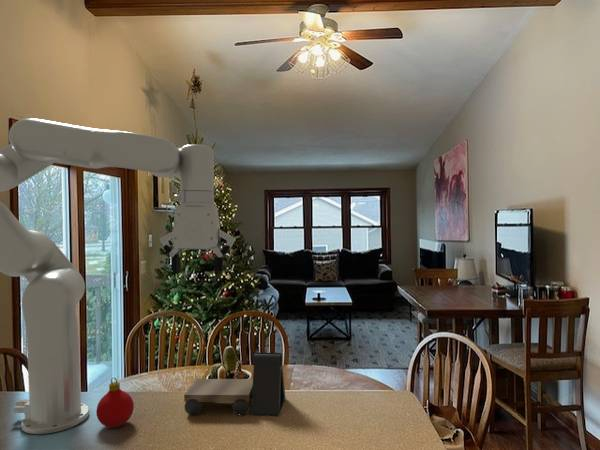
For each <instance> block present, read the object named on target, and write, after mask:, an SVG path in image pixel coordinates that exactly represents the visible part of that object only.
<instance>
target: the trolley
mask: <svg viewBox="0 0 600 450" xmlns="http://www.w3.org/2000/svg"><path fill="white" fill-rule="evenodd" d="M252 389H253V378H196V379H195V380H194V381H193V383H192V385H191V386H190V387H189V388H188V389H187V390H186V392H184V393H185V394H184V396H183V400H184V403H185V404H184V410H185V412H186V413H187V415H190V416H197V415H198V414H199V413H201V411H202V409H203V406H204V403H209V402H210V403H232V406H231V407H232V411H233V413H234V414H236V415H237V416H240V415H242V416H245V415H246V414H247V413H248V412H249V411H250V407H251V401H252ZM239 414H240V415H239Z"/></svg>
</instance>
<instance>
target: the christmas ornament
mask: <svg viewBox="0 0 600 450" xmlns="http://www.w3.org/2000/svg"><path fill="white" fill-rule="evenodd" d="M113 379H114V380H115V381H114V382H113ZM108 388H109V389H108V392H107V393H105V394H104V395H103V396H102V397H101V398H100V400H99V401H98V404H97V406H96V412H95V413H96V417H97V420H98V422H100V424H102V425H103V426H105V427H107V428H118V427H121V426H123V425H124V424H126V423H127V422H128V421H129V420H130V419H131V417H132V415H133V412H134V407H135V404H134V400H133V397H132V396H131V395H130V394H129V393H128V392H126V391H124V390H122V389H120V382H118V380H117V378H116V377H111V379H110V383H109V384H108Z"/></svg>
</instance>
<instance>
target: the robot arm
mask: <svg viewBox="0 0 600 450" xmlns="http://www.w3.org/2000/svg"><path fill="white" fill-rule="evenodd" d="M8 141H9V144H7V145H5V146H4V147H2V148H0V193H4V192H6V191H9V190H12V189H14V188H15V187H18V186H20V185H21V184H23V183H24V182H26V181H28V180H29V179H31V178H32V177H34V176H36V175H37V174H39V173H41V172H43V171H44V170H46V169H47V168H49V167H50V166H52V165H53V164H60V165H68V166H74V167H80V168H87V169H95V170H97V169H102V168H120V169H129V170H136V171H141V172H148V173H150V174H151V175H153V176H155V177H158V178H161V179H164V178H175V177H179V178H180V179H179V182H180V183H179V186H180V187H179V191H178V192H179V193H177V194H174V195H173V198H174V201H178V202H179V205H176V207H175V211H174V218H173V227H172V231H170V232H168V233H166V234H164V235H162V236H161V237H160V238H159V241H160V244H161V246H162V247H163V250H164V251H165V252H166V253H167V254H168V255H169V257H170V258H171V262H170V263H171V264H170V265H171V267H170V269H171V271H172V275H173V276H174V275H175V276H176V275H178V274H180V273H182V269H181V268H182V265H181V264H182V263H181V262H182V261H181V260H182V259H181V257H182V256H180V253H181V252H182V251H183V250H212V251H213V253H214V254H215V255H216V256H215V257H214V275H215V276H219V275H221V274H222V272H223V271H224V257H225V256H226V254H228V252H229V251H231V249H232V246H234V243H235V241H236V238H235V237H234V236H233V235H230V234H228V233H226V232H225V231H222V230H221V225H220V224H221V223H220V217H219V211H218V206H217V205H214V204H215V176H214V175H215V172H214V171H215V167H214V165H215V164H214V163H215V160H214V159H215V154H214V153H215V152H214V149H213V148H212V147H211V146H209V145H206V144H197V143H195V144H186V145H183V146H182V147H177V146H176V145H175V143H173V142H172V141H170V140H168V139H167V138H162V137H159V136H155V135H154V136H153V135H148V134H147V135H146V134H143V133H137V132H136V133H135V132H131V131H129V132H128V131H121V130H110V129H103V128H102V129H100V128H93V127H87V126H81V125H74V124H69V123H62V122H57V121H52V120H46V119H39V118H30V117H29V118H23V119H19V120H17V121H15V122H14V123H13V124H12V125H11V127H10V129H9V131H8ZM221 238H222V239H224V240H225V241H226V243H225V245H224V247H223V248H222V247H221V246H220V245H221ZM171 239H172V245H170V242H169V241H170V240H171ZM0 272H1V274H3V275H6V276H8V277H15V278H16V277H18V278H19V277H24V278H25V280H26V281H27V282H28V283H27V285H26V287H25V289H24V290H23V293H22V298H21V307H22V308H21V309H22V313H23V320H24V324H25V336H26V351H27V373H28V374H27V377H28V399H27V398H26V399H23V398H22V399H18V400H16V402H15V406H14V407H13V410H12V411H13V413H14V414H22V413H23V414H24V418H23V419H22V420H21V423H20V424H21V425H20V426H21V427H20V428H21V430H22V431H23V432H25V433H27V434H31V435H45V434H51V433H52V434H53V433H57V432H61V431H65V430H68V429H70V428H73V427H75V426H77V425H79V424H81V423H83V422H84V421H85V420H86V419H87V418H88V417H89V415H90V408H89V405H87V404H85V403H82V398H81V397H82V393H81V369H80V367H81V365H80V364H81V363H80V341H79V340H80V339H79V338H80V337H79V326H78V317H77V310H76V307H77V304H78V303H79V302H80V301H81V299H82V298H83V297H84V295H85V291H86V283H85V280H84V278H83V275H81V273H80V271H79V270H78V269H77V268H76V266H75V265H74V264H73V263H72V262H71V261H70V260H69V258H68V257H67V256H66V255H65V254H64V253H63V251H62V250H61V249H60V248H59V247H58V245H57V244H56V243H55V241H53V240H52V239H51V238H50V237H49V236H47V235H46V234H45V233H43V232H41V231H38V230H32V229H27V228H26V227H24V225H23V224H22V223H21V222H20V221H19V220H18V218H17V217H16V216H15V215H14V214H13V212H12V211H11V210H10V209H9V208H8V206H7V205H6V204H4V203H3V202H2V200H0Z"/></svg>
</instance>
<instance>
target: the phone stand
mask: <svg viewBox="0 0 600 450" xmlns="http://www.w3.org/2000/svg"><path fill="white" fill-rule="evenodd" d="M252 365H253V374H252V379H253V389H252V399H251V406H250V407H251V409H250V410H251V411H250V415H251V416H266V415H268V417H271V416H272V417H279V416H280V414H281V412H280V411H282V409H283V406H284V403H285V400H286V388H285V379H284V369H283V367H284V366H283V353H282V352H255V353H254V354H253V364H252Z"/></svg>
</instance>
